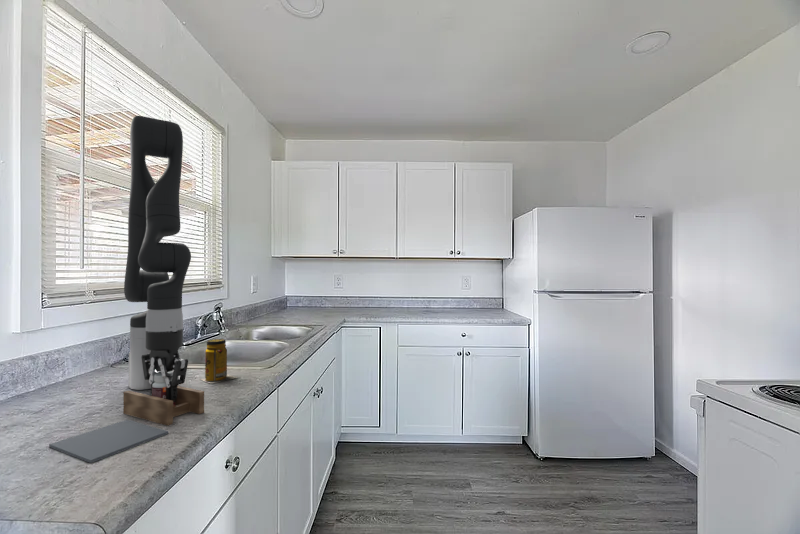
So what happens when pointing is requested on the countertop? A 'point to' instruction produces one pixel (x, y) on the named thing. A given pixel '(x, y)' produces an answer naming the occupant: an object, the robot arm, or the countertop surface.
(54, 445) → the mat
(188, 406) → the wooden rack
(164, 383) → the pill bottle
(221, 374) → the condiment
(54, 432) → the countertop surface
